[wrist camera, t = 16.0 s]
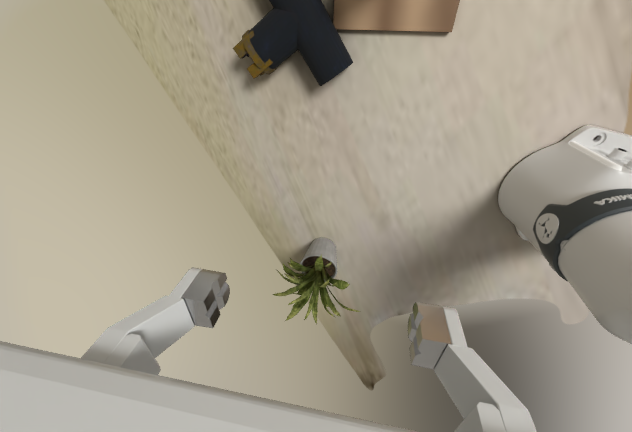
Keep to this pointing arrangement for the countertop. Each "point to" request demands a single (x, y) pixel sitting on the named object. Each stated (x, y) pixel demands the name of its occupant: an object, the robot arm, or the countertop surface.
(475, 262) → the countertop surface
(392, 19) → the pad
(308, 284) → the house plant
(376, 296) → the countertop surface
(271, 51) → the pipe connector
